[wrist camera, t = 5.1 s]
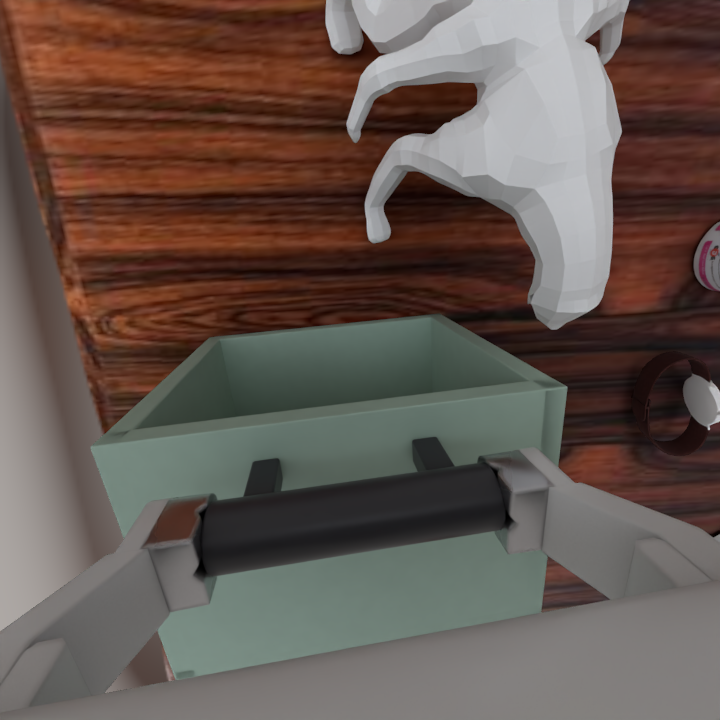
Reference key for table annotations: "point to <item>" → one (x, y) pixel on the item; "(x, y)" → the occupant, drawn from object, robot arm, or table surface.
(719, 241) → the pill bottle
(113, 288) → the table surface
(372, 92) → the white toy dinosaur
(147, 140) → the table surface
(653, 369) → the watch
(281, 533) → the basket
